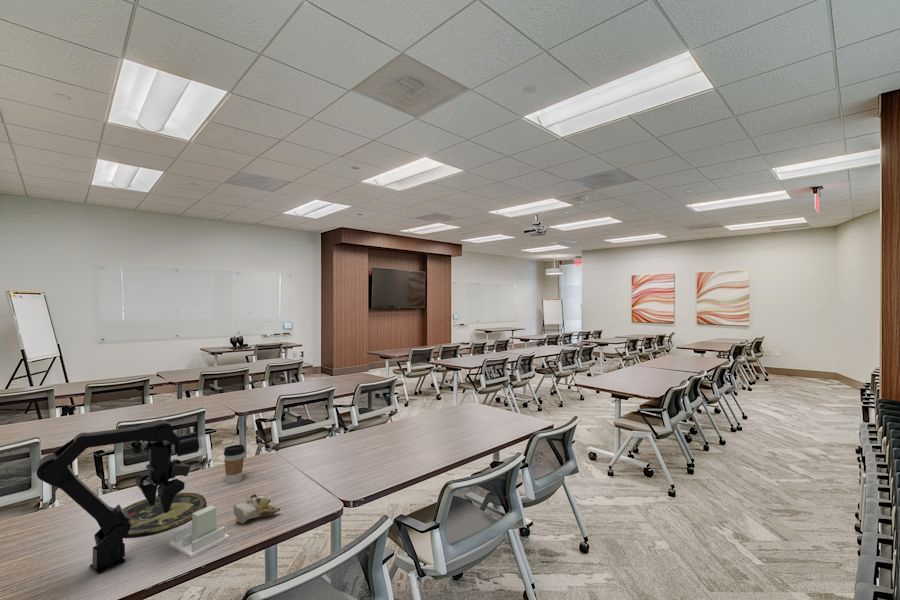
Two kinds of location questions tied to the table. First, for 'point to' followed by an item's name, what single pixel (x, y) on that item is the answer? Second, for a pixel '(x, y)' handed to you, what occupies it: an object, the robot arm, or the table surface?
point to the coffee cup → (234, 463)
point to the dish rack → (196, 541)
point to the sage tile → (203, 522)
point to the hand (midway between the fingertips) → (159, 508)
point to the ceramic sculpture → (253, 508)
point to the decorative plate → (162, 514)
